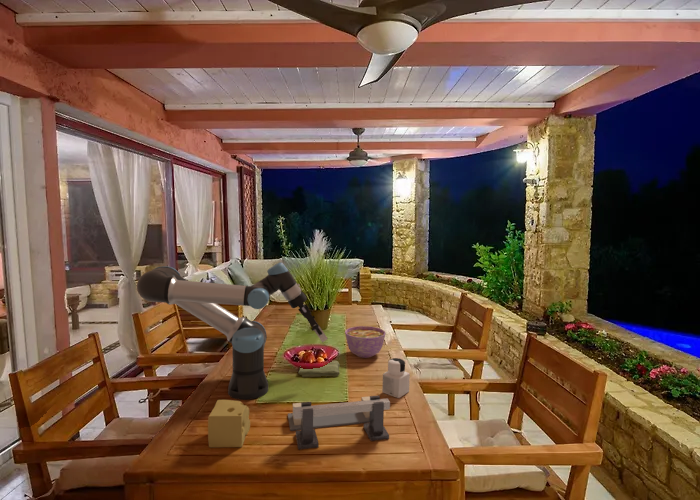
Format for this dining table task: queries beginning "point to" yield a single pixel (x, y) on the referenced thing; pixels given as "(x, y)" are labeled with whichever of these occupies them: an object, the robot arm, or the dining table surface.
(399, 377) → the container
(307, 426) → the grey rack
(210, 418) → the cheese
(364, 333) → the bowl of food
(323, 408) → the rail
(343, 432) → the dining table surface
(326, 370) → the washcloth
